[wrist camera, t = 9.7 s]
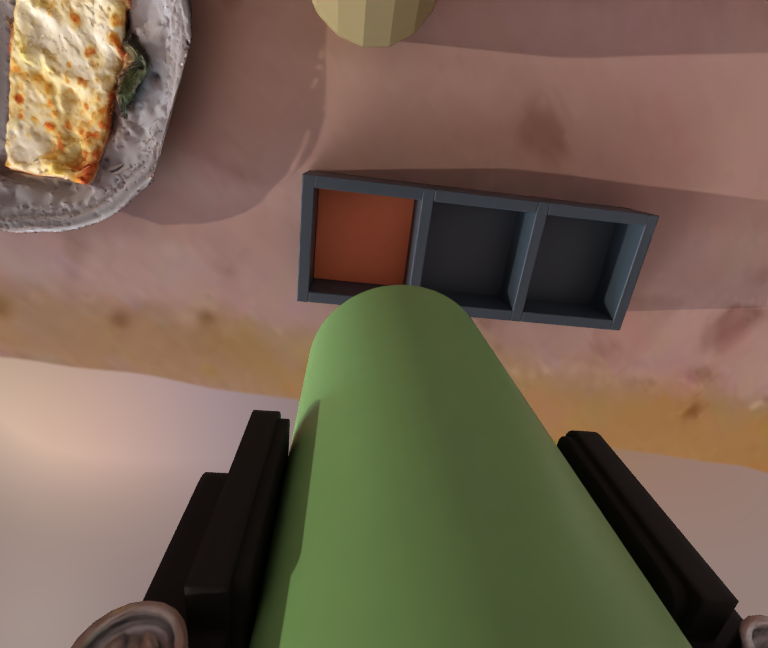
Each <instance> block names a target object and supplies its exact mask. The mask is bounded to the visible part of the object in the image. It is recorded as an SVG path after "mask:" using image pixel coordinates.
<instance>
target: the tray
mask: <svg viewBox="0 0 768 648" xmlns="http://www.w3.org/2000/svg"><path fill="white" fill-rule="evenodd" d="M658 218H659V216H658V215H654V214H649V213H645V212H641V211H637V210H633V209H629V208H622V207H614V206H605V205H597V204H589V203H580V202H572V201H563V200H555V199H547V198H538V197H530V196H521V195H513V194H505V193H496V192H488V191H479V190H471V189H463V188H454V187H446V186H437V185H429V184H420V183H412V182H404V181H395V180H387V179H378V178H370V177H362V176H353V175H345V174H336V173H328V172H320V171H311V170H309V171H307V172H305V173H304V174H303V175H302V198H301V220H300V243H299V265H298V288H297V301H303V302H308V301H309V302H316V303H327V304H338V305H341V304H343V303H344V302H346V301H347V300H349V299H350V298H352V297H354V296H356V295H358V294H360V293H362V292H365V291H368V290H370V289H373V288H378V287H382V286H389V285H412V286H419V287H424V288H427V289H430V290H434V291H436V292H438V293H440V294H443V295H445V296H446V297H448V298H450V299H451V300H453V301H454V302H455V303H457V304H458V305H459V306H460V307H461V308H463V309H464V311H465V312H466V313H467V314H468V315H469V316H470V317H477V318H488V319H499V320H511V321H522V322H533V323H544V324H555V325H566V326H576V327H587V328H598V329H611V330H620V328H621V325H622V322H623V319H624V316H625V313H626V311H627V308H628V305H629V302H630V299H631V296H632V293H633V290H634V287H635V284H636V282H637V279H638V276H639V273H640V270H641V267H642V264H643V261H644V258H645V256H646V253H647V250H648V247H649V244H650V241H651V238H652V235H653V232H654V230H655V227H656V224H657V221H658Z"/></svg>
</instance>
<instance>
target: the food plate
mask: <svg viewBox="0 0 768 648" xmlns="http://www.w3.org/2000/svg"><path fill="white" fill-rule="evenodd" d="M191 12H192V11H191V6H190V2H189V0H0V230H1V231H5V232H12V233H16V232H17V233H28V232H30V233H31V232H35V233H37V232H43V231H47V232H48V231H49V232H59V231H61V232H62V231H65V230H69V229H70V230H71V229H80V227H83V226H85V227H86V226H88V225H93V224H95V222H100V221H102V220H104V219H106V218H108V217H110V216H111V215H113V214H116V212H120V209H121V208H123V207H126V205H127V203H128V204H129V203H130V202H131V200H133V198H134V197H135V196H136V195H137V194H138V193H139V192H140V191H141V190H143V189H144V188H145V187H147V186H148V185H149V184H150V182H153V181H152V180H153V179H154V177H153V176H154V175H155V173H154V172H155V171H156V168H157V165H158V160H159V157H160V153H161V149H162V145H163V142H164V140H165V139H164V138H165V134H166V132H167V131H168V125H169V122H170V118H171V113H172V110H173V106H174V104H175V99H176V95H177V91H178V88H179V84H180V81H181V76H182V72H183V68H184V65H185V62H186V59H185V58H187V54H188V51H189V48H190V47H189V46H187V45H186V44H187V43H190V45H191V40H192V38H191V36H192V35H191V29H190V28H191V26H190V25H191V16H190V14H191ZM187 49H188V51H187ZM156 163H157V164H156ZM154 170H155V171H154ZM153 171H154V172H153ZM152 178H153V179H152ZM149 181H150V182H149Z"/></svg>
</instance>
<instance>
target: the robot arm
mask: <svg viewBox="0 0 768 648" xmlns="http://www.w3.org/2000/svg"><path fill="white" fill-rule="evenodd" d="M289 427H290V420H289V419H281V414H280V412H278V411H262V410H253V412H252V414H251V417H250V419H249V422H248V425H247V427H246V430H245V432H244V435H243V437H242V440H241V442H240V445H239V447H238V450H237V453H236V455H235V458H234V461H233V463H232V465H231V468H230V470H229V473H213V472H205V473H204V474H203V475H202V477H201V478H200V480H199V482H198V484H197V486H196V489H195V491H194V493H193V495H192V497H191V499H190V501H189V504H188V506H187V508H186V510H185V512H184V514H183V516H182V518H181V520H180V523H179V525H178V527H177V529H176V531H175V534H174V535H173V538H172V540H171V542H170V544H169V546H168V548H167V550H166V552H165V555H164V557H163V559H162V561H161V563H160V565H159V567H158V570H157V572H156V574H155V576H154V578H153V580H152V582H151V584H150V587H149V589H148V591H147V593H146V595H145V598H144V599H143V601H141V602H135V603H130V604H127V605H125V606H122V607H120V608H117V609H115V610H112V611H111V612H109V613H107V614H106V615H104V616H103V617H102V618H100V619H98V620H97V621H95V622H94V623H93V624H92V625H91V626H89V628H87V629H86V630H85V631H84V632H83V633H82V634H81V635H80V636H79V637H78V638H77V640H76V641H75V643H74V644H73V646H72V647H71V648H249V644H250V639H251V634H252V630H253V625H254V620H255V615H256V610H257V605H258V601H259V596H260V591H261V586H262V581H263V577H264V572H265V567H266V562H267V557H268V552H269V548H270V543H271V538H272V533H273V528H274V524H275V519H276V514H277V509H278V504H279V499H280V495H281V490H282V485H283V480H284V475H285V471H286V466H287V461H288V451H289ZM557 447H558V448H559V450H560V451H561V453H562V454H563V456H564V457H565V459H566V460H567V462H568V463H569V465H570V466H571V468H572V469H573V471H574V472H575V474H576V475H577V477H578V478H579V480H580V481H581V483H582V484H583V486H584V487H585V489H586V490H587V492H588V493H589V495H590V496H591V498H592V499H593V501H594V502H595V504H596V505H597V507H598V508H599V509H600V511H601V512H602V514H603V515H604V517H605V518H606V520H607V521H608V523H609V524H610V526H611V527H612V529H613V530H614V532H615V533H616V535H617V536H618V538H619V539H620V541H621V542H622V544H623V545H624V547H625V548H626V550H627V551H628V553H629V554H630V556H631V557H632V559H633V560H634V562H635V563H636V565H637V566H638V568H639V569H640V571H641V572H642V573H643V575H644V576H645V578H646V579H647V581H648V582H649V584H650V585H651V587H652V588H653V590H654V591H655V593H656V594H657V596H658V597H659V599H660V600H661V602H662V603H663V605H664V606H665V608H666V609H667V611H668V612H669V614H670V615H671V617H672V618H673V620H674V621H675V623H676V624H677V626H678V627H679V629H680V630H681V632H682V633H683V635H684V636H685V637H686V639H687V640H688V642H689V643H690V645H691V646H692V648H768V617H767V616H763V615H753V616H748V617H747V618H745V619H744V620H743V619H742V618H741V617H740V615H738V613H737V612H736V610H734V608H735V607H736V605H737V603H738V600H737V599H736V598H735V596H734V595H733V594H732V593H731V592H730V590H729V589H728V588H727V587H726V586H725V584H724V583H723V582H722V581H721V580H720V578H719V577H718V576H717V575H716V574H715V572H714V571H713V570H712V569H711V568H710V566H709V565H708V564H707V563H706V562H705V560H704V559H703V558H702V557H701V556H700V554H699V553H698V552H697V551H696V550H695V548H694V547H693V546H692V545H691V544H690V542H689V541H688V540H687V539H686V538H685V536H684V535H683V534H682V533H681V532H680V530H679V529H678V528H677V527H676V525H675V524H674V523H673V522H672V521H671V519H670V518H669V517H668V516H667V515H666V513H665V512H664V511H663V510H662V509H661V508H660V506H659V505H658V504H657V503H656V502H655V500H654V499H653V498H652V497H651V495H650V494H649V493H648V492H647V491H646V489H645V488H644V487H643V486H642V485H641V484H640V482H639V481H638V480H637V479H636V477H635V476H634V475H633V474H632V473H631V471H630V470H629V469H628V468H627V467H626V466H625V464H624V463H623V462H622V461H621V459H620V458H619V457H618V456H617V455H616V454H615V452H614V451H613V450H612V449H611V447H610V446H609V445H608V444H607V443H606V441H605V440H604V439H603V438H602V437H601V436H600V435H599V434H598V433H596V432H588V431H569V432H568V433H567V434H566V436H563V437H561V438H560V439H559V441H558V444H557Z"/></svg>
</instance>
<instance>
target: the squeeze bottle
mask: <svg viewBox="0 0 768 648" xmlns="http://www.w3.org/2000/svg"><path fill="white" fill-rule="evenodd" d="M312 2H313V5H314V7H315V9H316V12H317V14H318V15H319V16H320V17H321V18H322V19H323V20H324V21H325V22H326V23H327V24H328V26H329V27H330V28H331V29H332V30H333V31H334V32H335V33H336V34H337V35H338V36H340V37H342V38H344V39H346V40H349V41H351V42H353V43H355V44H357V45H360V46H362V47H384V46H391V45H393V44H395V43H397V42H399V41H401V40H403V39H405V38H407V37H409V36H411V35H413V34H414V33H415V31H416V30H417V29H418V28H419V27H420V25H421V24H422V23H423V22H424V21H425V19H426V18H427V17H428V16H429V15H430V13H431V12H432V11H433V8H434V5H435V2H436V0H312Z"/></svg>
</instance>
